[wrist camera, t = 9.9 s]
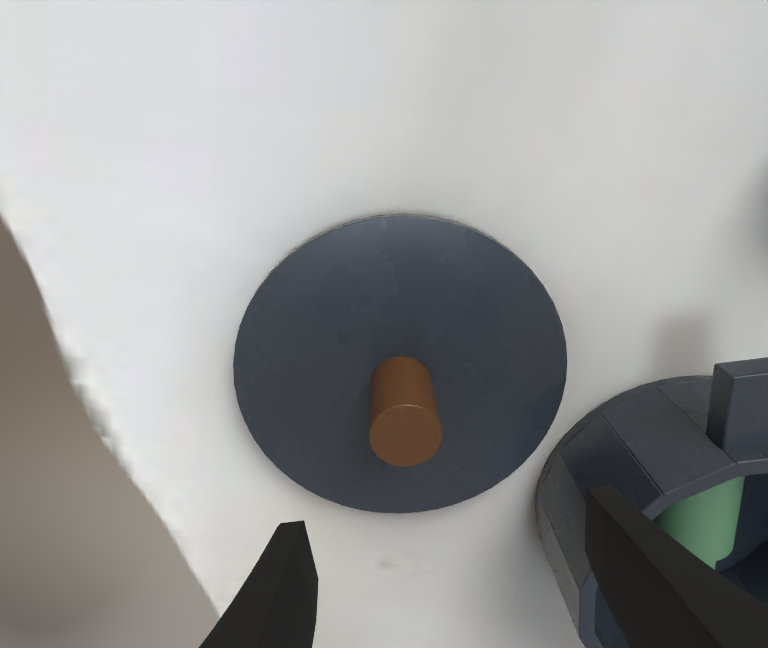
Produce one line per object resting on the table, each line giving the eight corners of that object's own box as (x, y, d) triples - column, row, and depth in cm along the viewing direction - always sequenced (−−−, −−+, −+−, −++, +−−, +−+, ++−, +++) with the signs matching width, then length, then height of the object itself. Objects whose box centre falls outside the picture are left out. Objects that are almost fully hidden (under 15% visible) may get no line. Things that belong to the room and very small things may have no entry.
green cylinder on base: (635, 429, 21) (674, 476, 19) (726, 418, 21) (779, 463, 18) (626, 568, 24) (658, 626, 22) (705, 559, 24) (749, 616, 21)
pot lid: (557, 187, 18) (615, 208, 14) (558, 478, 23) (601, 562, 19) (202, 236, 18) (149, 272, 14) (277, 511, 23) (255, 601, 19)
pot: (841, 296, 20) (1003, 357, 15) (772, 612, 26) (867, 730, 21) (530, 335, 20) (582, 408, 15) (538, 636, 27) (576, 758, 22)
